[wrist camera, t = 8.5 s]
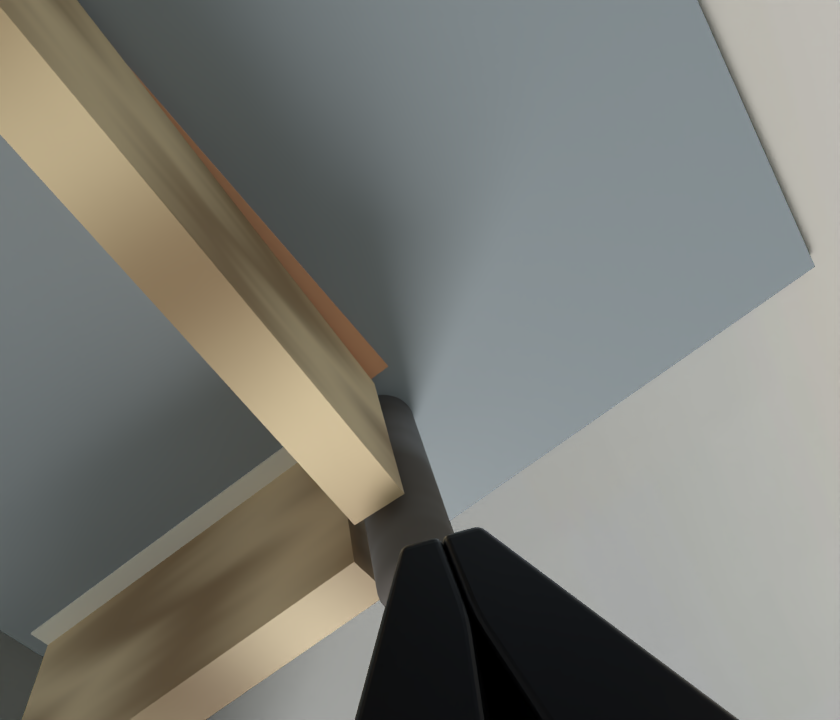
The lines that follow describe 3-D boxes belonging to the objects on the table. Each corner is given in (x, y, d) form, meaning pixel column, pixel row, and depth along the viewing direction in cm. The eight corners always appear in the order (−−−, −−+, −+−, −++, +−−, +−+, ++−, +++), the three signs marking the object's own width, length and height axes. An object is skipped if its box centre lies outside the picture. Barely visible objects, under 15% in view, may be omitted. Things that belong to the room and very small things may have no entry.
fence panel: (374, 383, 19) (404, 493, 14) (336, 408, 19) (354, 525, 15) (53, -31, 14) (-44, -47, 9) (4, 7, 14) (-115, 8, 10)
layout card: (155, 718, 23) (153, 728, 23) (-431, 347, 16) (-447, 354, 15) (808, 263, 20) (816, 267, 20) (481, -470, 13) (486, -482, 12)
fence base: (91, 660, 22) (28, 891, 16) (42, 630, 21) (-43, 860, 15) (424, 421, 20) (484, 582, 15) (386, 377, 19) (433, 530, 14)
